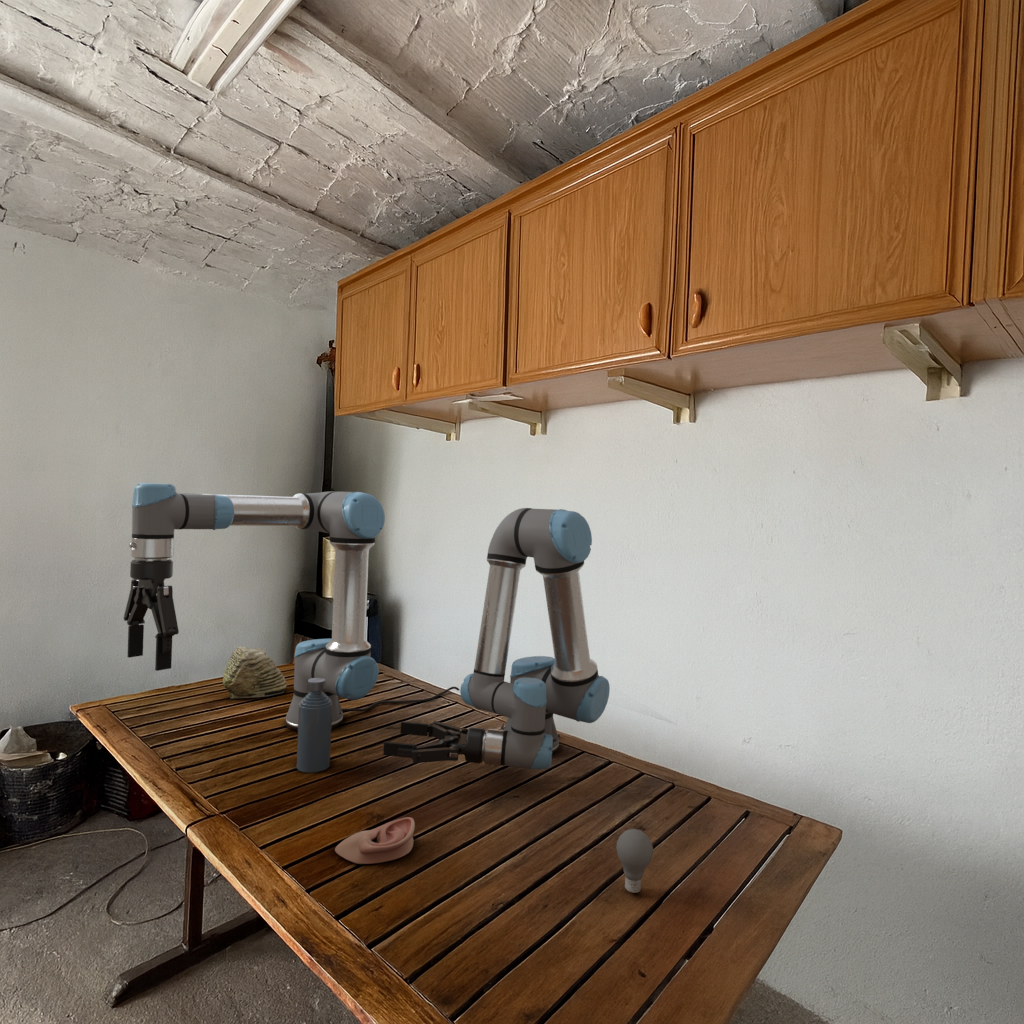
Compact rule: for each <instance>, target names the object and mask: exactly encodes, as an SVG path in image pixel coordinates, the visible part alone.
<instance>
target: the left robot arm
mask: <svg viewBox="0 0 1024 1024" xmlns="http://www.w3.org/2000/svg"><path fill="white" fill-rule="evenodd" d="M385 515H386V513H385V511H384V508H383V505H382V503H381V502H380V501H379V500H378V498H377V497H375V495H373V494H370V493H367V492H363V491H362V492H361V491H337V490H336V491H335V490H333V491H332V490H330V491H321V492H311V493H295V494H294V495H293V496H276V495H275V496H274V495H273V496H272V495H248V494H247V495H246V494H244V495H243V494H220V493H219V494H218V493H217V494H216V493H215V494H214V493H189V492H187V493H186V492H177V491H176V486H175V485H174V484H173V483H152V482H139V483H137V484H136V485H135V486H134V488H133V492H132V501H131V520H132V521H131V542H130V543H128V547H129V548H130V549H131V550H130V556H131V558H133V559H132V560H131V561H130V567H129V568H130V571H129V574H130V575H129V576H130V578H131V581H130V590H129V594H128V598H127V603H126V607H125V610H124V615H123V621H124V622H126V624H127V626H128V629H127V630H128V631H127V658H135V657H142V656H144V635H145V634H144V630H145V625H144V624H145V623H146V621H145V619H144V618H145V616H146V615H147V612H148V609H149V610H151V613H152V618H153V620H154V624H155V627H156V631H157V633H156V635H155V636H154V638H155V661H154V663H155V665H154V668H155V669H154V670H155V671H157V672H159V671H164V670H169V669H172V659H173V657H172V655H173V637H175V636H176V635H179V632H180V631H179V625H178V619H177V615H176V614H177V613H176V609H175V603H174V597H173V595H174V593H173V585H165V580H167V579H171V578H172V577H173V575H174V573H173V572H174V561H173V560H172V559H171V558H173V557H174V554H175V553H174V552H175V530H213V531H215V530H224V529H228V528H230V526H233V527H234V526H237V527H238V526H240V527H243V526H246V527H247V526H249V527H250V526H258V527H259V526H268V527H269V526H276V527H277V526H282V527H284V526H285V527H286V526H287V527H288V526H289V527H290V526H291V527H293V528H294V529H296V530H308V531H309V530H310V531H316V532H319V533H325V534H329V544H330V545H331V546H332V547H333V548H334V550H335V551H334V572H333V573H334V577H333V599H332V625H331V626H332V627H331V638H317V639H308V640H304V641H300V642H299V643H297V645H296V646H295V650H294V655H293V657H294V672H293V673H294V674H293V695H292V696H293V697H292V699H291V702H290V704H289V708H288V711H287V713H286V715H285V726H286V728H287V729H289V730H291V731H294V732H295V731H296V732H298V713H299V703H300V701H301V700H302V699H303V698H304V697H306V695H307V694H308V693H309V692H310V691H309V690H308V689H307V684H308V680H309V679H311V678H324V679H325V681H326V684H325V689H324V690H322V692H324V694H326V696H328V697H329V698H330V699H331V701H332V727H331V730H332V729H335V728H337V727H339V726H340V725H342V723H343V722H344V714H343V712H366V711H369V710H370V709H372V708H373V707H375V706H377V705H380V704H381V705H382V704H409V703H421V702H428V701H432V700H435V699H436V698H439V697H440V696H442V695H444V694H446V693H448V692H449V691H451V690H456V691H458V692H459V691H460V688H459V687H457V686H450V687H449V688H447V689H445V690H444V691H441V692H439V693H437V694H435V695H434V696H432V697H428V698H422V699H407V700H405V699H404V700H380V701H376V702H374V703H371V704H370V705H369V706H367V707H364V708H342V706H341V702H340V699H339V698H341V699H342V700H343V699H344V700H348V701H349V700H350V701H357V700H360V699H362V698H364V697H365V696H367V695H368V694H370V692H371V690H372V689H374V687H375V685H376V683H377V682H378V678H379V674H380V672H379V671H380V670H379V669H380V668H379V665H378V663H377V662H376V660H375V659H374V657H371V652H372V649H371V648H372V644H371V643H370V642H368V640H367V639H366V631H367V607H368V606H367V605H368V604H367V602H368V582H369V581H368V579H369V555H370V553H369V552H370V550H371V548H372V547H374V545H375V544H376V536H378V535H379V534H380V533H381V530H383V528H384V526H385V522H386V521H385V520H386V516H385Z"/></svg>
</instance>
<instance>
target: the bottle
mask: <svg viewBox="0 0 1024 1024" xmlns="http://www.w3.org/2000/svg"><path fill="white" fill-rule="evenodd" d="M331 727H332V701H331V699H330V698H329V697H328V696H326V694H324V692H322V690H321V691H310V692H309V693H308V694H307V695H306V697H304V698H303V699H302V700H301V701H300V703H299V713H298V731H297V739H296V740H297V741H296V743H297V744H296V747H297V748H296V769H297V770H298V771H300V772H301V773H302V772H303V773H309V774H311V773H319V772H322V771H323V772H324V771H325V770H327V769H328V768H329V767H330V766H331V753H332V752H331V751H332V750H331V748H332V729H331Z"/></svg>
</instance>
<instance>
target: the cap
mask: <svg viewBox="0 0 1024 1024" xmlns="http://www.w3.org/2000/svg"><path fill="white" fill-rule="evenodd" d="M325 684H326V681H325V679H324V678H311V679H309V680H308V684H307V689H308V690H309V691H321V690H324V689H325Z"/></svg>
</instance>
